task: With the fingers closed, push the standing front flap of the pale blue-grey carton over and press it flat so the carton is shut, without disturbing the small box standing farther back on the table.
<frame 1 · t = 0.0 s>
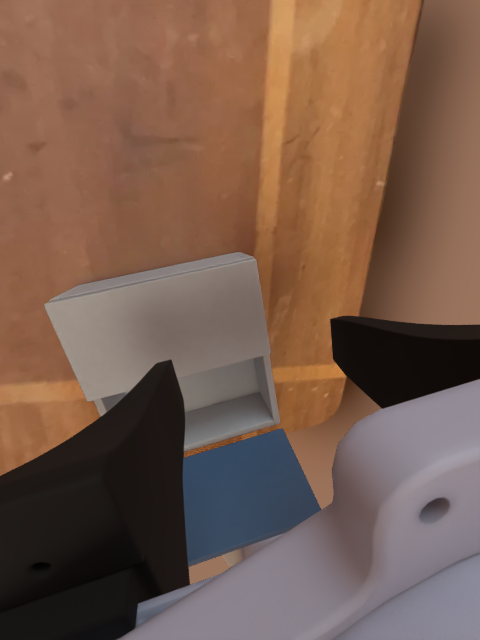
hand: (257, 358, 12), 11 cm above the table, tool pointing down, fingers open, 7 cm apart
carton: (183, 345, 22), on the table
flap: (210, 495, 17), point 8 cm above the table, hinge at 95.0°
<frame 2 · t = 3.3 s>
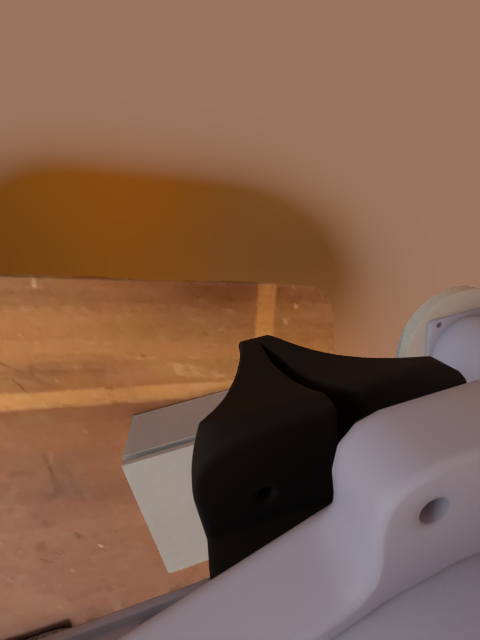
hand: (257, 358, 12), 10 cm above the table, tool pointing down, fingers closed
carton: (221, 446, 26), on the table
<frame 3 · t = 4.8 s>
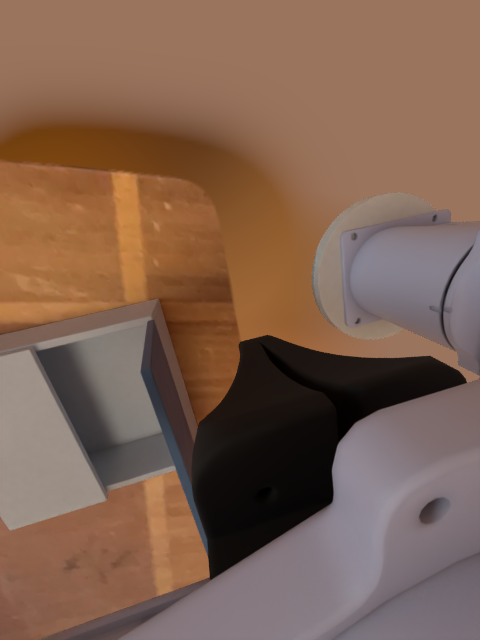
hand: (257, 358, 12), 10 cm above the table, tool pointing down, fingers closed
carton: (99, 387, 22), on the table
flap: (181, 437, 15), point 8 cm above the table, hinge at 95.0°
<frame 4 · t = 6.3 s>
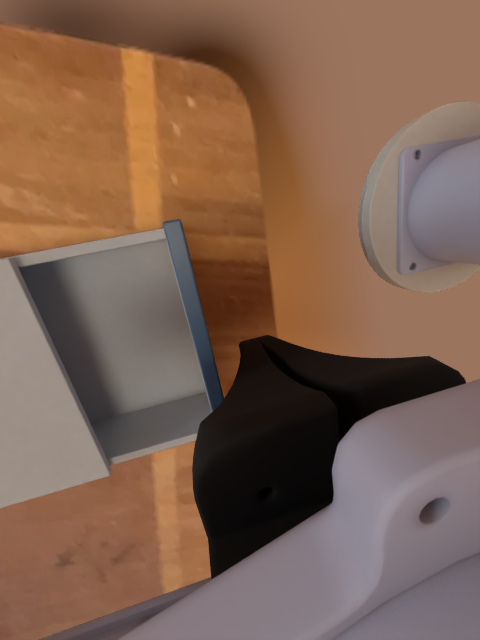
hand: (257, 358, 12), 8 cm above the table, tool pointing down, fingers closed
carton: (101, 341, 18), on the table
flap: (212, 380, 11), point 8 cm above the table, hinge at 91.7°, touching gripper
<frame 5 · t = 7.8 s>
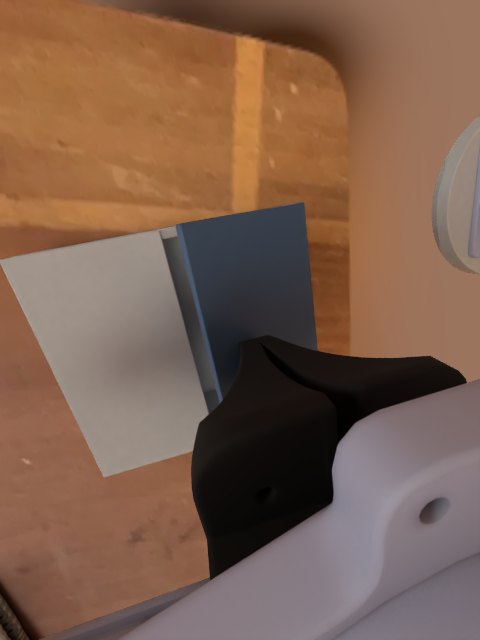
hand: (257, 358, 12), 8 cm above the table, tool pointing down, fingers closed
carton: (191, 320, 18), on the table
flap: (269, 345, 13), point 7 cm above the table, hinge at 26.5°, touching gripper
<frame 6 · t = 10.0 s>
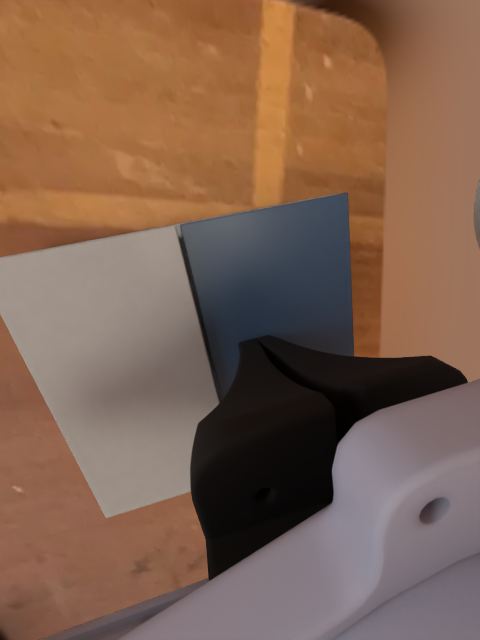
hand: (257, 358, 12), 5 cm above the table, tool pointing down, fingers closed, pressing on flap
carton: (204, 330, 16), on the table
flap: (284, 350, 12), point 5 cm above the table, hinge at -2.9°, touching gripper
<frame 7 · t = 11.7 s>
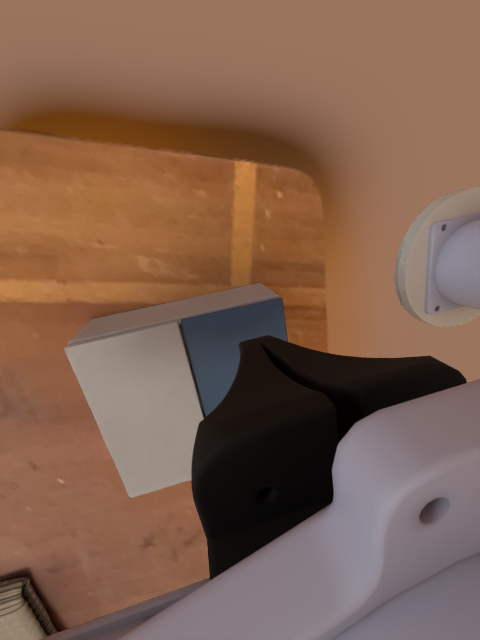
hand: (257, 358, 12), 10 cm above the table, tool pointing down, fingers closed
carton: (197, 367, 23), on the table
flap: (247, 390, 18), point 5 cm above the table, hinge at -1.2°
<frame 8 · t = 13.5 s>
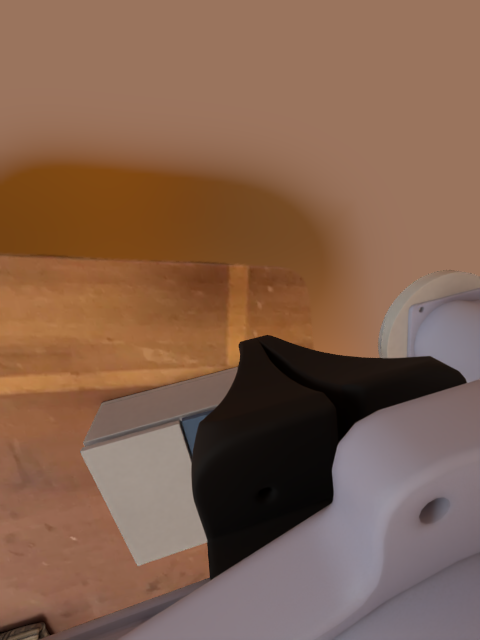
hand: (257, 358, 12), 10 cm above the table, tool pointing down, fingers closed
carton: (197, 436, 25), on the table
flap: (242, 470, 21), point 5 cm above the table, hinge at -1.2°
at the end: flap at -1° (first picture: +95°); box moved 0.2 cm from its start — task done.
